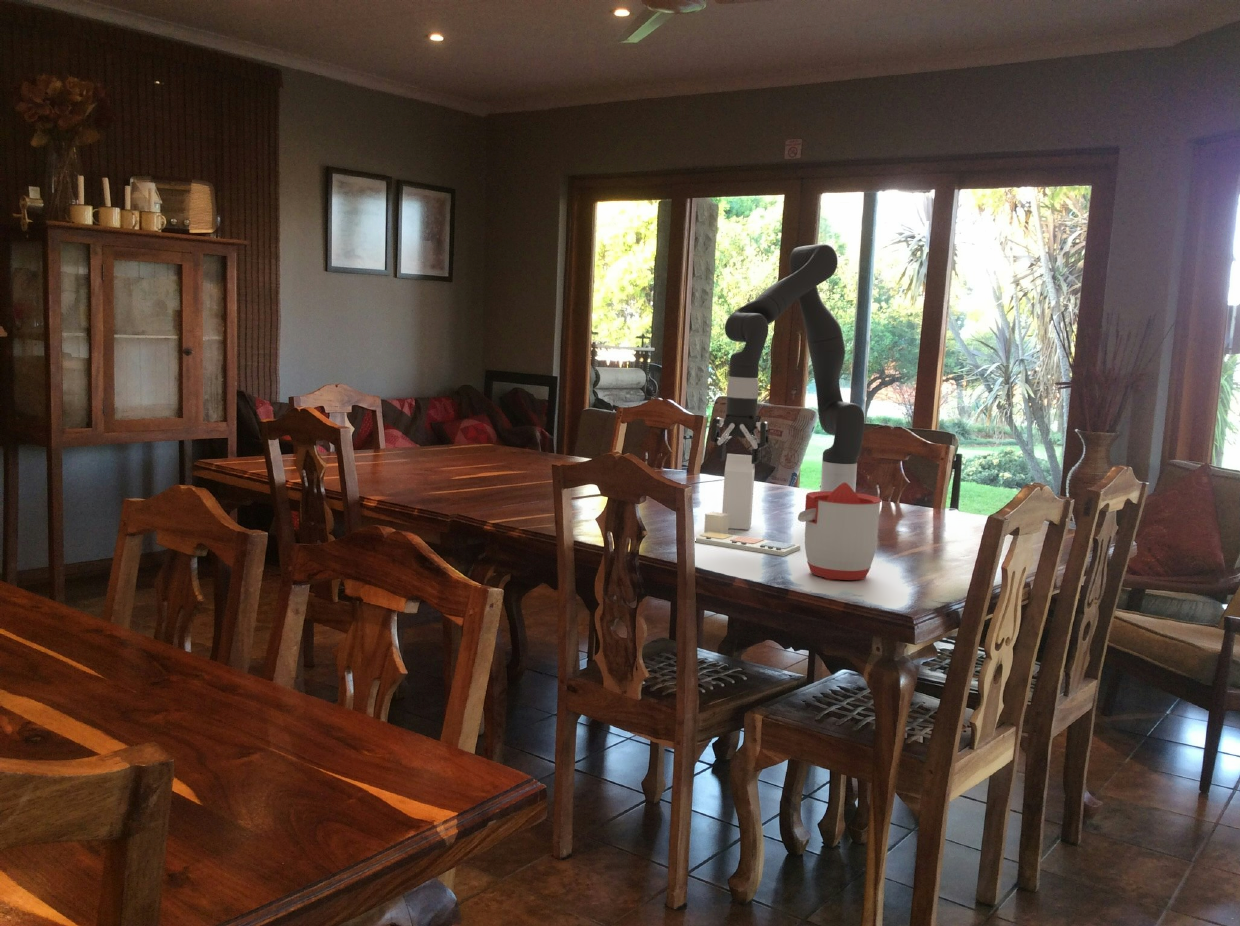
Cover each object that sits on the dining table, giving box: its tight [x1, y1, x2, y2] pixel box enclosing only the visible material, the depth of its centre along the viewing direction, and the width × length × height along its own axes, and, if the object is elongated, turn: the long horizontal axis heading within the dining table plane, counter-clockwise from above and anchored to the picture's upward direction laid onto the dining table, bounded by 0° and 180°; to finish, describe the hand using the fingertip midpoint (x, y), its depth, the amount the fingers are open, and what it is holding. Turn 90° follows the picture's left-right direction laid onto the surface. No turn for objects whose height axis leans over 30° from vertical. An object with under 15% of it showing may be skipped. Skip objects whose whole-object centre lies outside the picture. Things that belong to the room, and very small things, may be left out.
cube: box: [703, 511, 729, 534], centre depth 269 cm, size 4×4×5 cm
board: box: [695, 532, 801, 557], centre depth 255 cm, size 10×24×1 cm, turn 59°
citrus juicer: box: [797, 482, 883, 581], centre depth 226 cm, size 16×17×20 cm
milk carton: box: [721, 453, 756, 531], centre depth 278 cm, size 7×7×19 cm
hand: (738, 462), depth 261 cm, fingers open, 8 cm apart
